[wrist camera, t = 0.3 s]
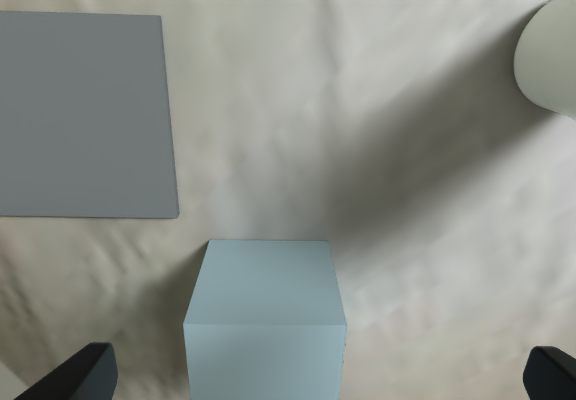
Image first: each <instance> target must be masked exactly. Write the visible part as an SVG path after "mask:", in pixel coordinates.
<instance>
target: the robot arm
mask: <svg viewBox="0 0 576 400" xmlns="http://www.w3.org/2000/svg"><path fill="white" fill-rule="evenodd" d="M117 377H118V372H117V366H116V360H115V355H114V349H113V346H112V344H111V343H108V342H93V343H90V344H88V345H86V346H85V347H84V348H82V349H81V350H80V351H78V352H77V353H76V354H74V355H73V356H72V357H70V358H69V359H68V360H66V361H65V362H64V363H62V364H61V365H59V366H58V367H57V368H55V369H54V370H53V371H51V372H50V373H49V374H47V375H46V376H45V377H43V378H42V379H41V380H39V381H38V382H37V383H35V384H34V385H33V386H31V387H30V388H28V389H27V390H26V391H24V392H23V393H22V394H20V395H19V396H18V397H16V398H15V399H14V400H112V397H113V393H114V390H115V387H116V383H117ZM523 383H524V386H525V389H526V391H527V394H528V396H529V398H530V400H576V359H575V358H573V357H572V356H570V355H568V354H566V353H565V352H563V351H561V350H560V349H558V348H556V347H553V346H536V347H534V348H533V349H532V350H531V352H530V355H529V358H528V361H527V363H526V366H525V369H524V372H523Z"/></svg>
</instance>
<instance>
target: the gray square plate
mask: <svg viewBox="0 0 576 400" xmlns="http://www.w3.org/2000/svg"><path fill="white" fill-rule="evenodd" d="M0 216H64V217H132V218H178V216H179V204H178V194H177V183H176V172H175V162H174V151H173V140H172V130H171V119H170V109H169V98H168V87H167V77H166V66H165V55H164V45H163V34H162V23H161V16H155V15H122V14H89V13H56V12H23V11H0Z"/></svg>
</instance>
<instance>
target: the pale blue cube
mask: <svg viewBox="0 0 576 400" xmlns="http://www.w3.org/2000/svg"><path fill="white" fill-rule="evenodd" d="M183 329H184V338H185V348H186V358H187V367H188V377H189V387H190V397H191V400H339V393H340V384H341V375H342V366H343V357H344V348H345V340H346V331H347V323H346V318H345V314H344V310H343V305H342V301H341V296H340V292H339V287H338V283H337V279H336V274H335V270H334V265H333V261H332V256H331V252H330V248H329V243H328V241H283V240H210V241H209V244H208V247H207V250H206V253H205V257H204V260H203V263H202V266H201V269H200V272H199V276H198V279H197V282H196V285H195V288H194V291H193V295H192V298H191V301H190V304H189V307H188V310H187V314H186V317H185V320H184V323H183Z"/></svg>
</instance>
